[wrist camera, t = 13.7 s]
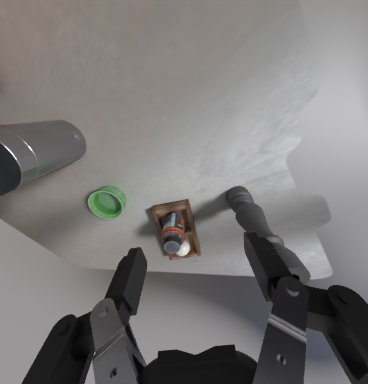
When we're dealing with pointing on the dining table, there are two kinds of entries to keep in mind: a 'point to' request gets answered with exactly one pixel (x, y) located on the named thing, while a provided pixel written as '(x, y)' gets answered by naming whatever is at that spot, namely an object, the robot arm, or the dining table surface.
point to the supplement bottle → (173, 232)
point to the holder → (190, 231)
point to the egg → (184, 249)
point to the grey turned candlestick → (263, 229)
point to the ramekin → (107, 202)
